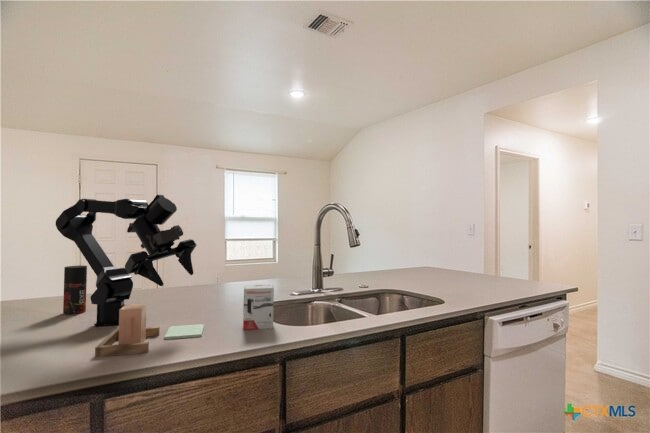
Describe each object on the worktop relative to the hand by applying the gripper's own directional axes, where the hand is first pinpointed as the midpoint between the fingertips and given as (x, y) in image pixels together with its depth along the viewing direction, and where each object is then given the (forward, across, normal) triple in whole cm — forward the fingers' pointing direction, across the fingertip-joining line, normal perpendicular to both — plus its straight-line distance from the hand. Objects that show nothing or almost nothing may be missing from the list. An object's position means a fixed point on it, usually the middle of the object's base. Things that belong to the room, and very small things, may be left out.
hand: (178, 279), depth 91 cm
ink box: (+23, +13, -1) cm, 26 cm away
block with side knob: (+9, -14, +8) cm, 19 cm away
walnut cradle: (+9, -14, +8) cm, 19 cm away
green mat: (+12, -2, +7) cm, 14 cm away
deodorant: (-18, -9, +43) cm, 48 cm away
